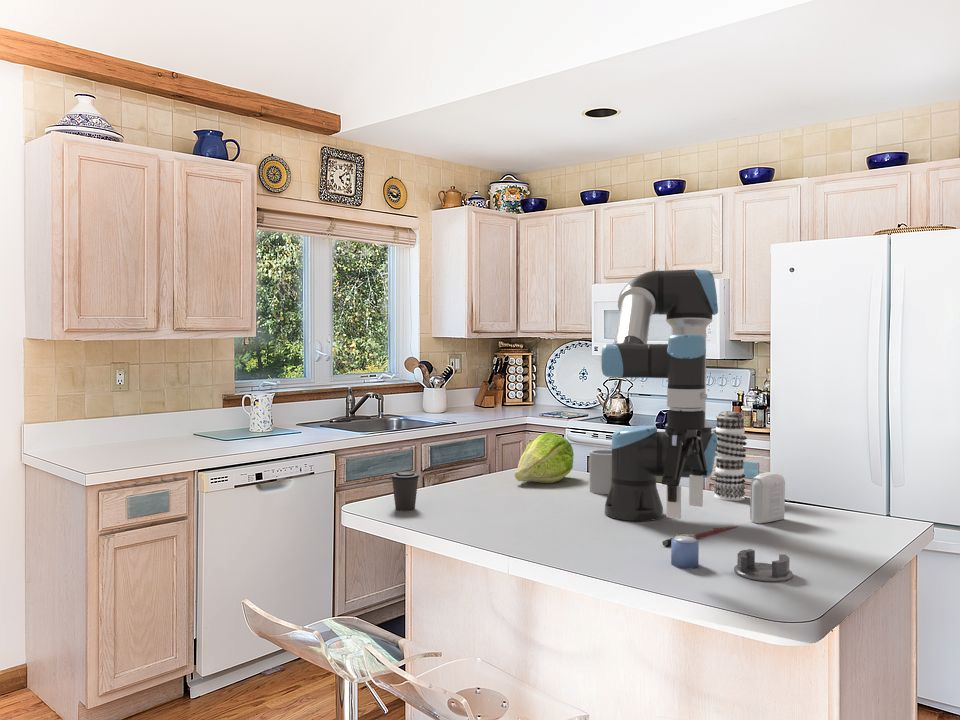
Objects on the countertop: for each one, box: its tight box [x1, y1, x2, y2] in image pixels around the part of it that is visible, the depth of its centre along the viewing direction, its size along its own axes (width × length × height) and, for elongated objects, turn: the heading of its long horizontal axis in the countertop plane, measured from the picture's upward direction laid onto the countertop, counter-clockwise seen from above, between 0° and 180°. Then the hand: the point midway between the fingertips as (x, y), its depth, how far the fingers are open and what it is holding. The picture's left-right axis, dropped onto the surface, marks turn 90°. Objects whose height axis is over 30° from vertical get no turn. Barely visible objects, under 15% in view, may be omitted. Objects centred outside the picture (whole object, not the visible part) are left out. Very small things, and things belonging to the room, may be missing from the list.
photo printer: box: [749, 471, 786, 524], centre depth 196 cm, size 10×4×12 cm, turn 123°
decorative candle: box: [713, 410, 748, 502], centre depth 223 cm, size 9×9×25 cm
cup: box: [588, 449, 612, 495], centre depth 232 cm, size 9×9×12 cm
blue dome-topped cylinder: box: [670, 536, 700, 570], centre depth 159 cm, size 6×6×5 cm
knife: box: [661, 525, 740, 547], centre depth 183 cm, size 29×2×5 cm
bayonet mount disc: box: [733, 548, 794, 583], centre depth 154 cm, size 11×11×4 cm
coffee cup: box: [390, 470, 421, 512], centre depth 210 cm, size 8×8×10 cm
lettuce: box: [514, 431, 575, 484], centre depth 249 cm, size 15×25×16 cm
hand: (685, 511), depth 159 cm, fingers open, 13 cm apart
